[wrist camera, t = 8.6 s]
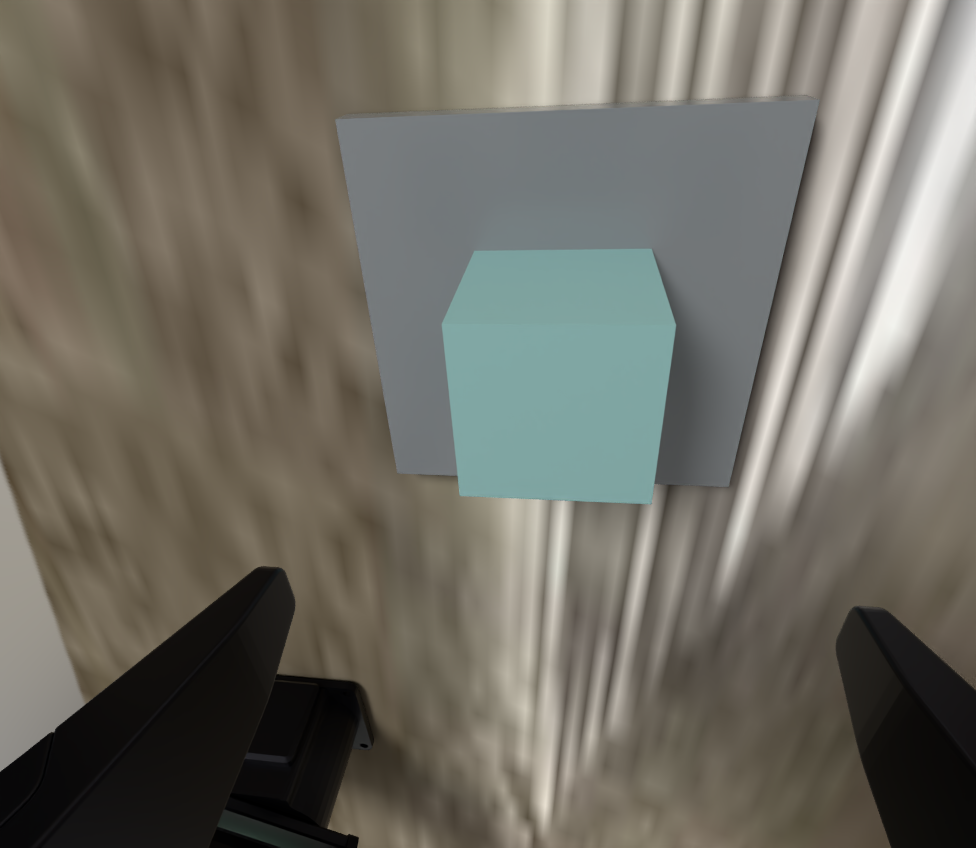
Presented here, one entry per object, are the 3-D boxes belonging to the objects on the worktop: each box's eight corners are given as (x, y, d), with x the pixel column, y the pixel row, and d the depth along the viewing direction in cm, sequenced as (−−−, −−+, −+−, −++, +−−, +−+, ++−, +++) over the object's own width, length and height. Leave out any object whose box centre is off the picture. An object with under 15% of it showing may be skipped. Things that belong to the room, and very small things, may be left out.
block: (635, 400, 19) (651, 504, 15) (483, 397, 20) (460, 495, 16) (651, 248, 16) (676, 324, 12) (474, 250, 17) (441, 324, 13)
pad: (722, 469, 21) (728, 487, 21) (403, 457, 23) (397, 473, 22) (806, 95, 15) (819, 99, 14) (347, 114, 16) (335, 119, 16)
